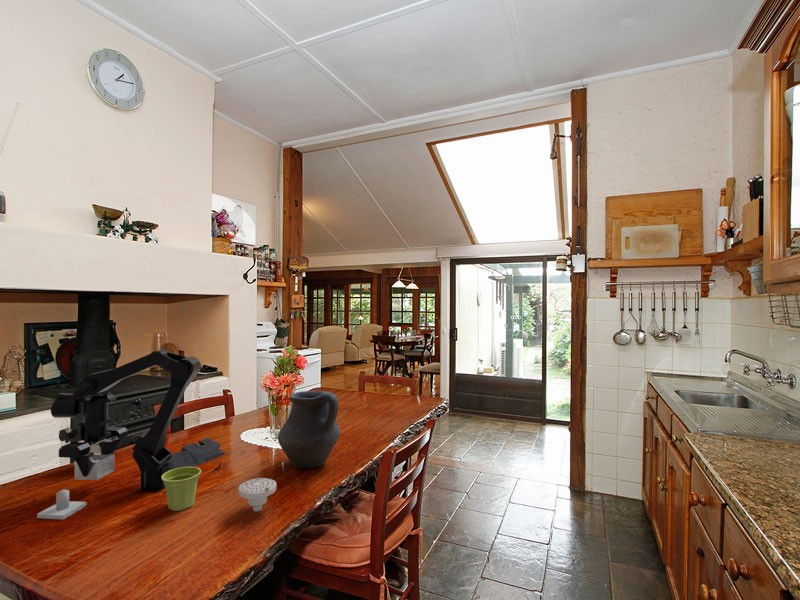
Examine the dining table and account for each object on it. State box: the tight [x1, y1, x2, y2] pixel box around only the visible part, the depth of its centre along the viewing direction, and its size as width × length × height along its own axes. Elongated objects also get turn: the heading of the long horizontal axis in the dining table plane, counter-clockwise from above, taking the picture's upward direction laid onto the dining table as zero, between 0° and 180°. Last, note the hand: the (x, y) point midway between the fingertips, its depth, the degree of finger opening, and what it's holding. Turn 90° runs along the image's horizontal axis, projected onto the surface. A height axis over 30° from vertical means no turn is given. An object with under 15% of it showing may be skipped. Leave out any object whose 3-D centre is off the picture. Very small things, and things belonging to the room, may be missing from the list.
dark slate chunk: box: [166, 437, 226, 471], centre depth 145 cm, size 15×22×5 cm
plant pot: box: [161, 466, 202, 512], centre depth 112 cm, size 9×9×9 cm
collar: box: [74, 453, 116, 481], centre depth 121 cm, size 7×7×5 cm
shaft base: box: [36, 489, 88, 520], centre depth 108 cm, size 7×7×6 cm
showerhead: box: [238, 477, 277, 512], centre depth 111 cm, size 9×7×10 cm
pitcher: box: [277, 390, 341, 470], centre depth 142 cm, size 21×22×25 cm
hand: (95, 471), depth 121 cm, fingers closed on collar, 7 cm apart
